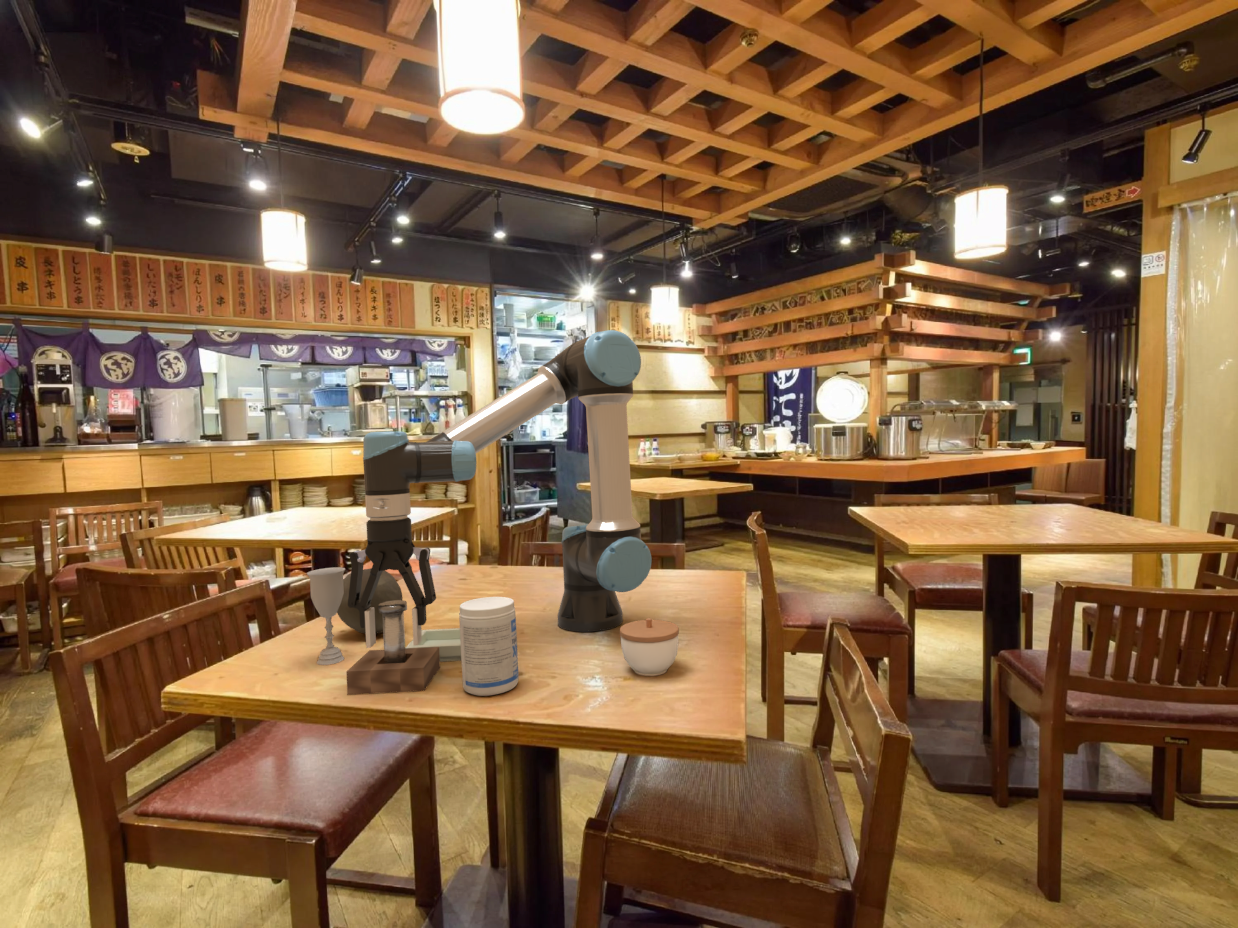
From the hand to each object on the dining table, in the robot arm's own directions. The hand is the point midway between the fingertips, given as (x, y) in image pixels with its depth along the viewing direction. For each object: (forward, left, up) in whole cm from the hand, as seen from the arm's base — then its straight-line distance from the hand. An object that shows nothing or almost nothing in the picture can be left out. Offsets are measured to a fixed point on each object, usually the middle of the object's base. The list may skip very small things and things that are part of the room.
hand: (394, 643), depth 111 cm
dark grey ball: (+15, -30, -7) cm, 34 cm away
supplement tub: (-18, +5, -7) cm, 20 cm away
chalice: (+17, -13, -7) cm, 22 cm away
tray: (-6, -15, -7) cm, 17 cm away
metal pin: (0, 0, -7) cm, 7 cm away
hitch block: (0, 0, -7) cm, 7 cm away
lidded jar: (-46, +1, -7) cm, 47 cm away
